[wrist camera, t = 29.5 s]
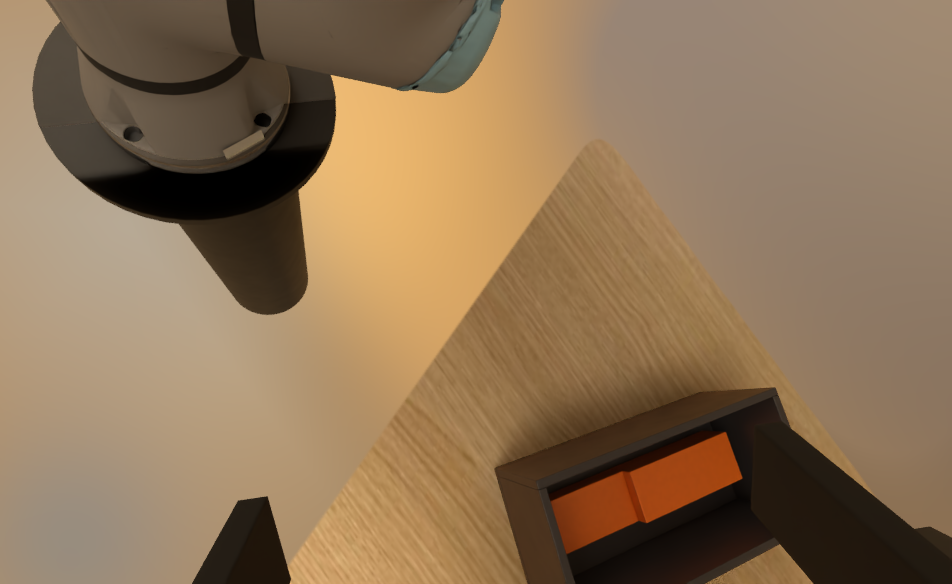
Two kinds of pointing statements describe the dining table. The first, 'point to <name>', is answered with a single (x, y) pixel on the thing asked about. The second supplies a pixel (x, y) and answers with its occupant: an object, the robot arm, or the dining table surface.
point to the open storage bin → (664, 539)
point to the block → (644, 488)
